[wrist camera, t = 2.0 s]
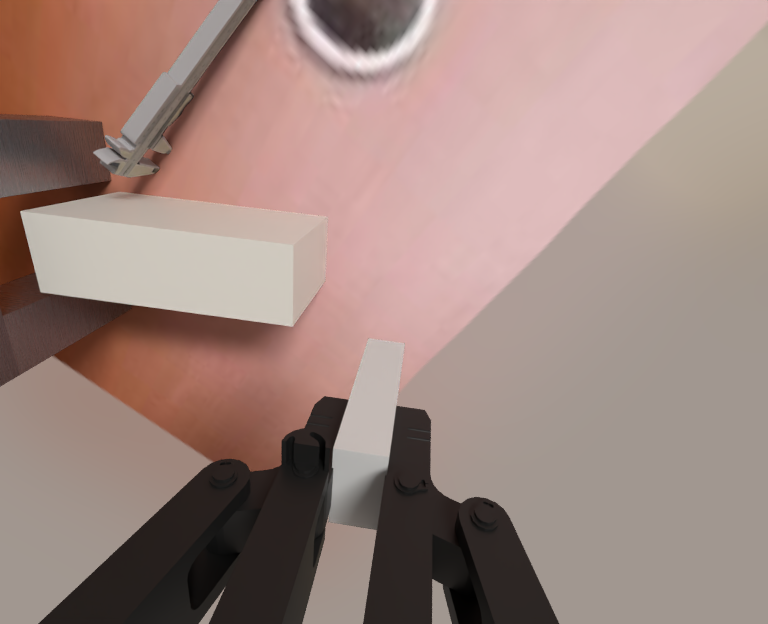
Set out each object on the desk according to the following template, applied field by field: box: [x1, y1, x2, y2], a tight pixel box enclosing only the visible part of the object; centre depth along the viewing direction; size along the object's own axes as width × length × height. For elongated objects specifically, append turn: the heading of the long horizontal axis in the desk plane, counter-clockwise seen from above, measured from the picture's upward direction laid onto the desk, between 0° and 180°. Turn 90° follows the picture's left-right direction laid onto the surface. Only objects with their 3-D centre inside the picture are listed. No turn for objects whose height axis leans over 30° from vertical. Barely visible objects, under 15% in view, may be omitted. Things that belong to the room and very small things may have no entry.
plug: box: [20, 192, 328, 327], centre depth 28 cm, size 5×18×8 cm, turn 84°
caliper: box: [93, 0, 257, 178], centre depth 24 cm, size 20×1×6 cm, turn 138°
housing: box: [0, 114, 131, 386], centre depth 27 cm, size 14×4×12 cm, turn 174°
